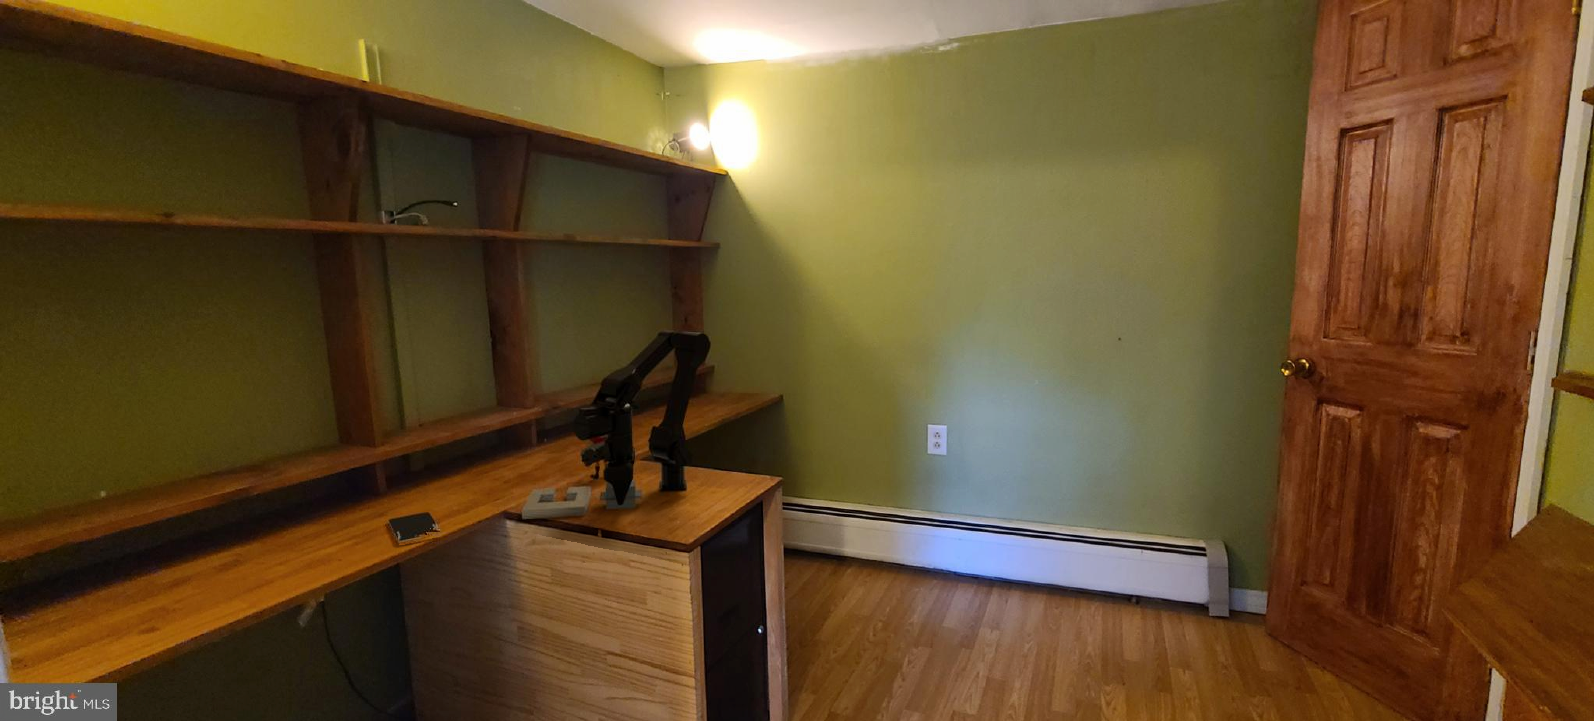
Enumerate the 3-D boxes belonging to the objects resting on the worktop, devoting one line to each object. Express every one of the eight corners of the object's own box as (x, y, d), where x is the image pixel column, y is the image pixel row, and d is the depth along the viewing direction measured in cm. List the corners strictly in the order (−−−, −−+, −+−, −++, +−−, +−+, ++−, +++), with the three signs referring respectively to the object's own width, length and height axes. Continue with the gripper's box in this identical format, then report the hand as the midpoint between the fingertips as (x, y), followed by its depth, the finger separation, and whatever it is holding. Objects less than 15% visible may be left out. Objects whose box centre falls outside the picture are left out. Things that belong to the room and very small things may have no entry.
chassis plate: (533, 497, 158) (533, 489, 158) (590, 494, 161) (590, 486, 161) (522, 519, 145) (521, 510, 144) (585, 515, 147) (584, 506, 147)
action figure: (615, 470, 179) (614, 416, 177) (621, 474, 176) (620, 418, 174) (581, 477, 173) (579, 420, 171) (586, 481, 170) (584, 423, 168)
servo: (602, 498, 158) (601, 477, 158) (642, 495, 160) (641, 475, 159) (599, 509, 151) (599, 488, 150) (641, 507, 153) (641, 486, 152)
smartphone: (428, 511, 147) (442, 533, 135) (428, 517, 147) (442, 539, 135) (388, 519, 142) (398, 542, 130) (388, 525, 142) (399, 548, 130)
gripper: (586, 423, 159) (588, 486, 161) (577, 443, 141) (580, 515, 143) (634, 421, 161) (636, 484, 163) (632, 441, 143) (633, 511, 145)
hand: (621, 497), depth 154 cm, fingers open, 9 cm apart
